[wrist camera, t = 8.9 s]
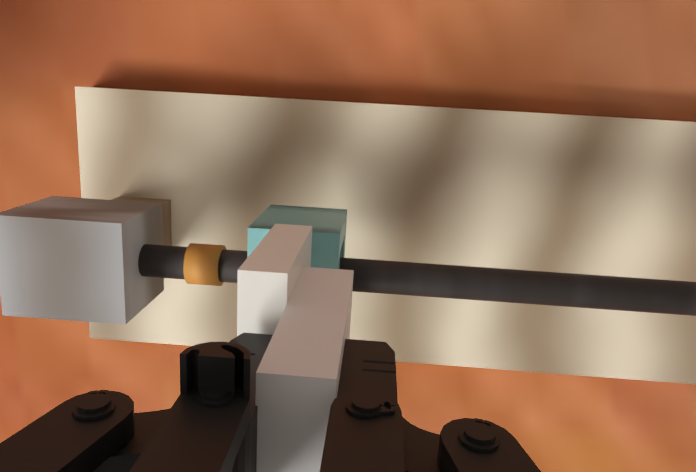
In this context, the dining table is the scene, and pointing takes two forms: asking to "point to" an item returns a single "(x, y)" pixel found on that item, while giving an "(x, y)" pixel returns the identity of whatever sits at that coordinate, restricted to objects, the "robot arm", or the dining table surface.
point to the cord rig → (378, 227)
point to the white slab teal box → (284, 260)
